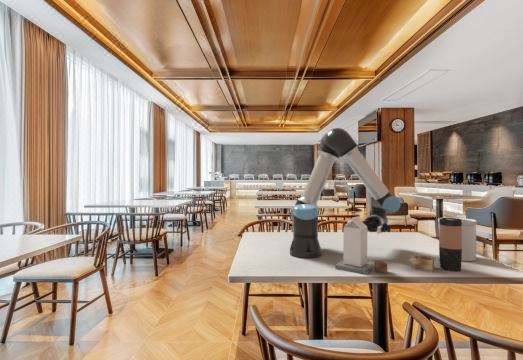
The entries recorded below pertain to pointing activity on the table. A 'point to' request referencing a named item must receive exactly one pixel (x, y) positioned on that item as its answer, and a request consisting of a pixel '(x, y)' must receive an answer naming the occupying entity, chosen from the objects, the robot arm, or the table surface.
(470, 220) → the utensil holder
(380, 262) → the walnut block
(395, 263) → the table surface
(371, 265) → the slate board
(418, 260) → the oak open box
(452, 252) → the travel mug
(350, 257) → the milk carton
